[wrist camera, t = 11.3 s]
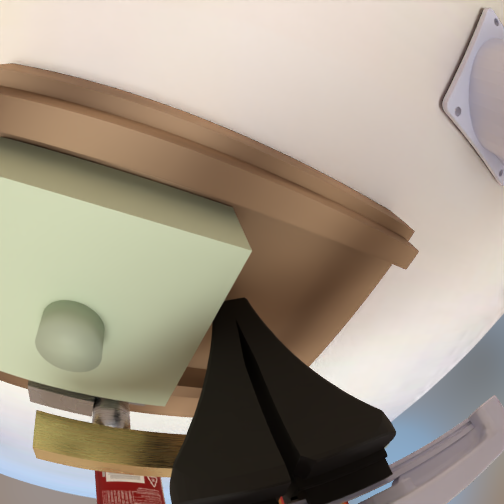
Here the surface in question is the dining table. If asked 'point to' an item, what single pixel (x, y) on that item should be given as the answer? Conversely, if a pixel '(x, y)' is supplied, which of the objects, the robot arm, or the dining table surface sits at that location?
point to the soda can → (128, 489)
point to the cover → (107, 275)
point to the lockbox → (228, 193)
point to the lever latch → (98, 435)
